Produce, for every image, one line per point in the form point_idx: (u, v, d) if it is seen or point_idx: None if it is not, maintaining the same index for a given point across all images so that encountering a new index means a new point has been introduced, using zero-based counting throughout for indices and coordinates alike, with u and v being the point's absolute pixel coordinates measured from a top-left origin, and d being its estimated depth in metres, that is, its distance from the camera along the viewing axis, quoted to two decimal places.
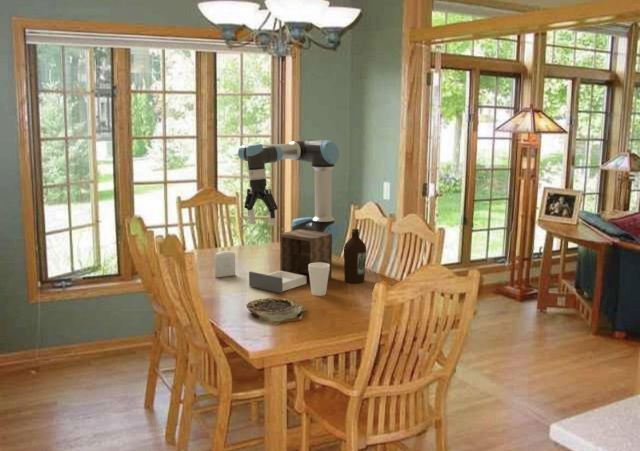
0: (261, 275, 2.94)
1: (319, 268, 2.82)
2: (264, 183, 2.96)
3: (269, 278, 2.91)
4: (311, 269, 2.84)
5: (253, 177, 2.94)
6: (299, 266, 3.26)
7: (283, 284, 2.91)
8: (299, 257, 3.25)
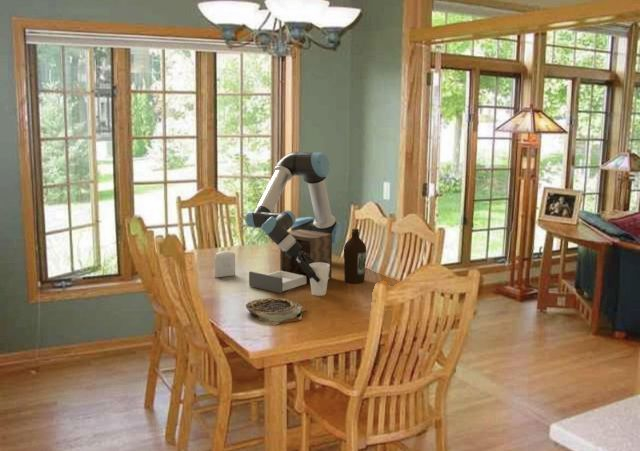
0: (261, 275, 2.94)
1: (319, 268, 2.82)
2: (293, 251, 2.83)
3: (269, 278, 2.91)
4: None
5: (283, 250, 2.87)
6: (299, 266, 3.26)
7: (283, 284, 2.91)
8: None
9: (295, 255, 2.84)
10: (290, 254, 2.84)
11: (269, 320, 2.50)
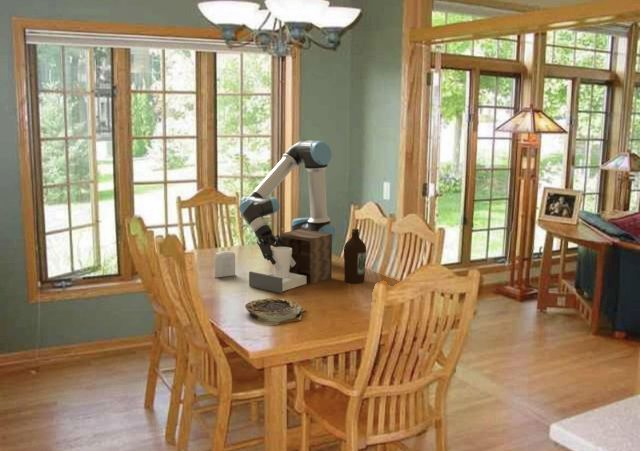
0: (261, 275, 2.94)
1: (276, 251, 2.96)
2: (259, 233, 3.02)
3: (269, 278, 2.91)
4: None
5: None
6: (299, 266, 3.26)
7: (283, 284, 2.91)
8: (299, 257, 3.25)
9: (260, 237, 3.02)
10: (257, 236, 3.04)
11: (268, 320, 2.50)
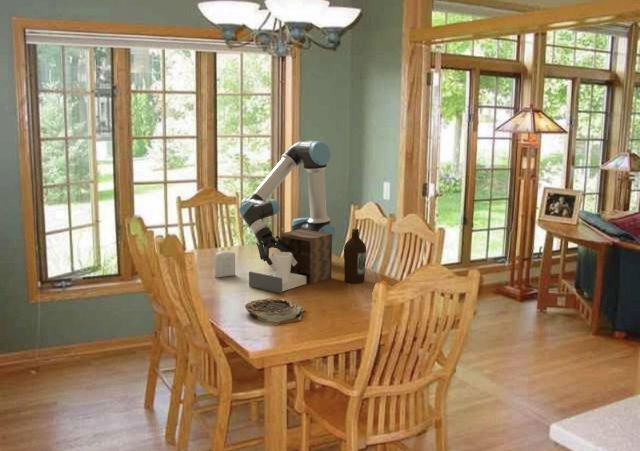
0: (261, 275, 2.93)
1: (276, 256, 2.97)
2: (259, 235, 3.03)
3: (269, 278, 2.91)
4: (272, 257, 2.99)
5: None
6: (299, 266, 3.26)
7: (283, 284, 2.91)
8: (299, 257, 3.25)
9: (260, 239, 3.02)
10: (257, 238, 3.04)
11: (268, 321, 2.50)
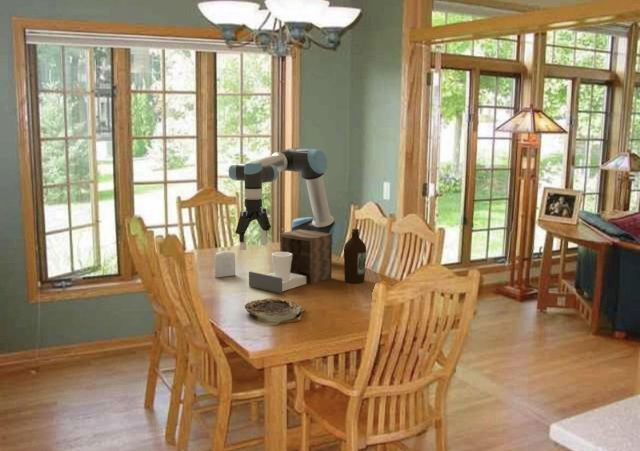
0: (261, 275, 2.93)
1: (276, 257, 2.97)
2: (248, 204, 2.79)
3: (269, 278, 2.91)
4: (272, 257, 2.99)
5: None
6: (299, 266, 3.26)
7: (283, 284, 2.91)
8: (299, 257, 3.25)
9: (247, 208, 2.79)
10: (245, 204, 2.80)
11: (268, 321, 2.49)
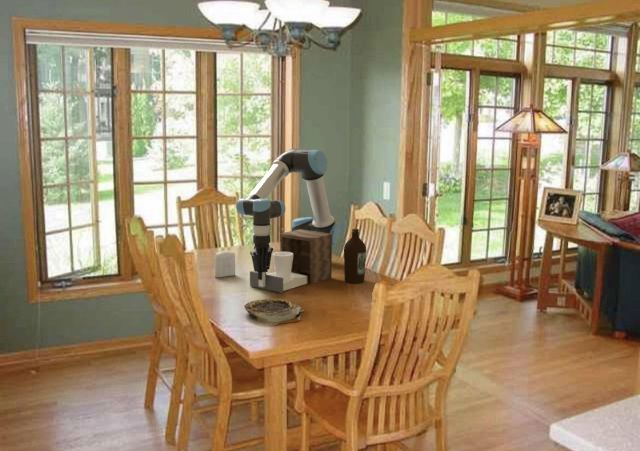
0: None
1: (277, 256, 2.97)
2: (257, 240, 2.85)
3: (270, 278, 2.91)
4: (273, 257, 3.00)
5: None
6: (299, 266, 3.26)
7: (284, 284, 2.91)
8: (299, 257, 3.25)
9: (255, 244, 2.86)
10: (253, 240, 2.86)
11: (268, 321, 2.49)
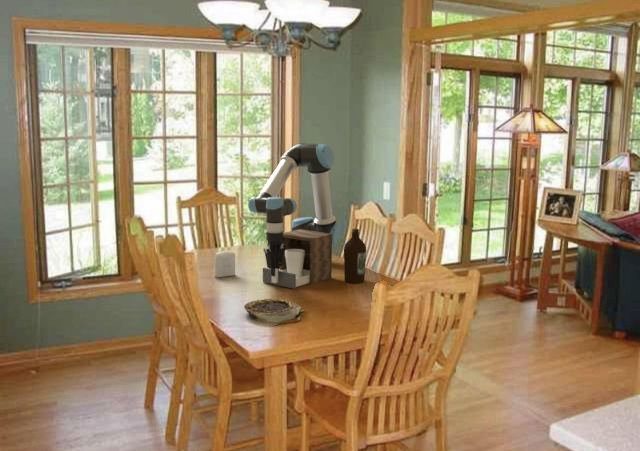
0: None
1: (290, 253, 3.04)
2: (270, 237, 2.92)
3: (283, 274, 2.98)
4: (285, 253, 3.07)
5: None
6: None
7: (296, 280, 2.98)
8: None
9: (269, 241, 2.92)
10: (267, 237, 2.93)
11: (268, 321, 2.49)
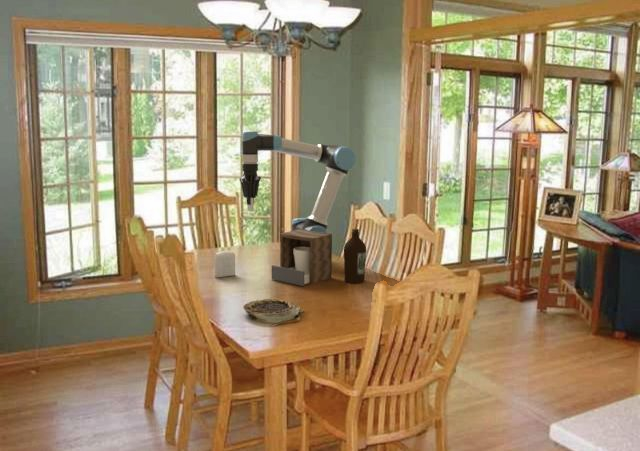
0: (283, 269, 3.06)
1: (298, 251, 3.09)
2: (245, 168, 3.16)
3: (291, 271, 3.03)
4: (293, 251, 3.12)
5: None
6: None
7: (305, 277, 3.03)
8: None
9: (244, 172, 3.17)
10: (243, 168, 3.17)
11: (267, 321, 2.49)
